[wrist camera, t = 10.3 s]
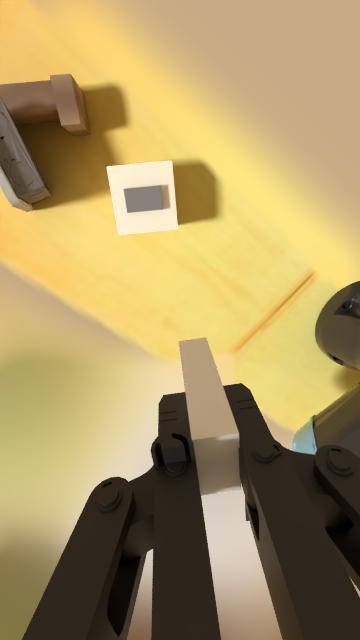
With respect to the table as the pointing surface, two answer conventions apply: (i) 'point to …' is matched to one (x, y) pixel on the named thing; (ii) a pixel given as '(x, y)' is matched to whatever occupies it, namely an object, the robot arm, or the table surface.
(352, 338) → the robot arm
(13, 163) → the electrical switch
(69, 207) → the table surface
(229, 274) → the table surface
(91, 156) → the table surface
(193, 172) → the table surface
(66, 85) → the bracket
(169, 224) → the socket block
